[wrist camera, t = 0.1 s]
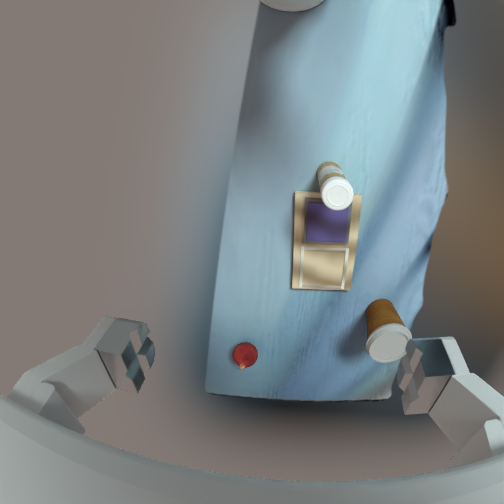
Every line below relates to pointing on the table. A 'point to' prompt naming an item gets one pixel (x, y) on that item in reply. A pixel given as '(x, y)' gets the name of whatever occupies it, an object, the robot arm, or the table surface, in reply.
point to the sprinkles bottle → (334, 186)
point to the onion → (245, 355)
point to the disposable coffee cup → (385, 332)
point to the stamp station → (324, 242)
